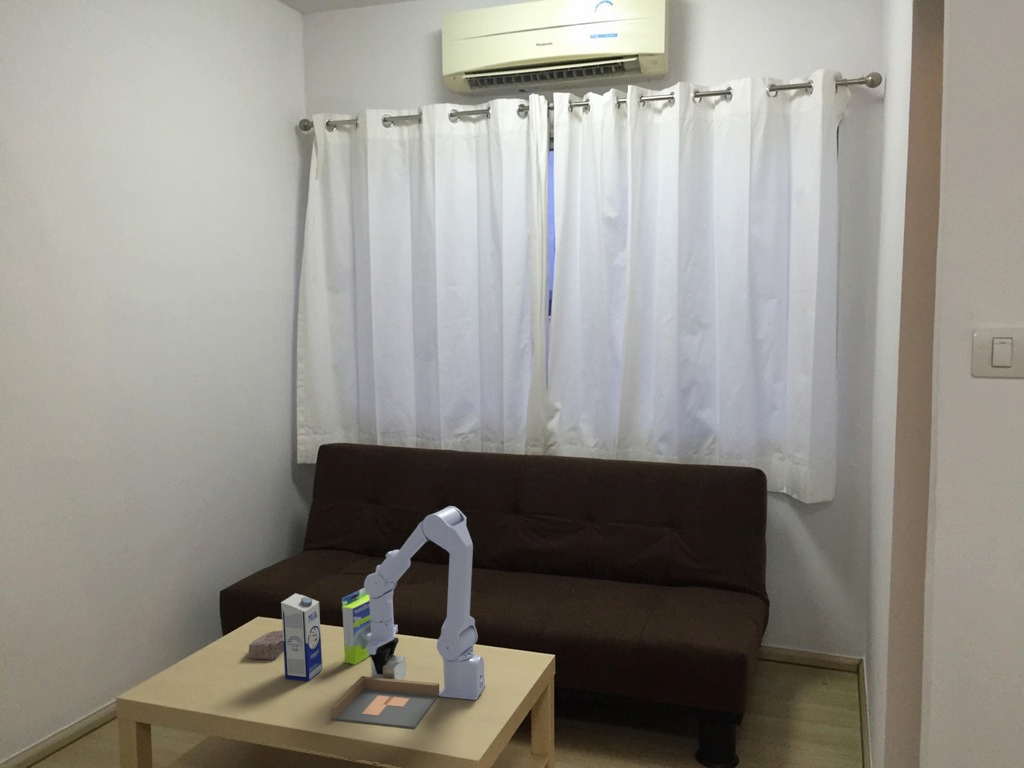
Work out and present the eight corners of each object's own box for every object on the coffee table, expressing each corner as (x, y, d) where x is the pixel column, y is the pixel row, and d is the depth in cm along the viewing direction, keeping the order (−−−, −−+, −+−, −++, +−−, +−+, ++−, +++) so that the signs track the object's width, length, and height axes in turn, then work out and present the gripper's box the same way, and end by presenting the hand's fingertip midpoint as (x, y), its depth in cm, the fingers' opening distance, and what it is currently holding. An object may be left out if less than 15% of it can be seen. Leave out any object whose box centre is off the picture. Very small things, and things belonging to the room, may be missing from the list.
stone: (262, 643, 229) (261, 627, 229) (293, 643, 229) (293, 627, 228) (246, 661, 217) (245, 644, 217) (278, 661, 217) (278, 644, 216)
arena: (439, 695, 194) (439, 683, 194) (414, 728, 179) (414, 715, 179) (362, 687, 199) (361, 676, 199) (331, 719, 184) (331, 707, 184)
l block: (405, 675, 206) (405, 656, 205) (395, 687, 199) (394, 668, 198) (376, 672, 208) (375, 653, 207) (364, 684, 201) (363, 665, 200)
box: (355, 665, 212) (352, 601, 211) (342, 662, 214) (339, 598, 213) (380, 650, 221) (377, 588, 220) (368, 647, 223) (365, 586, 222)
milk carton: (299, 667, 212) (295, 592, 210) (322, 669, 210) (319, 594, 209) (284, 679, 205) (280, 601, 204) (308, 681, 204) (304, 603, 202)
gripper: (379, 607, 212) (381, 657, 213) (354, 628, 198) (356, 682, 199) (404, 608, 210) (406, 659, 212) (381, 630, 196) (383, 684, 198)
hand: (384, 670), depth 205 cm, fingers closed on l block, 3 cm apart
